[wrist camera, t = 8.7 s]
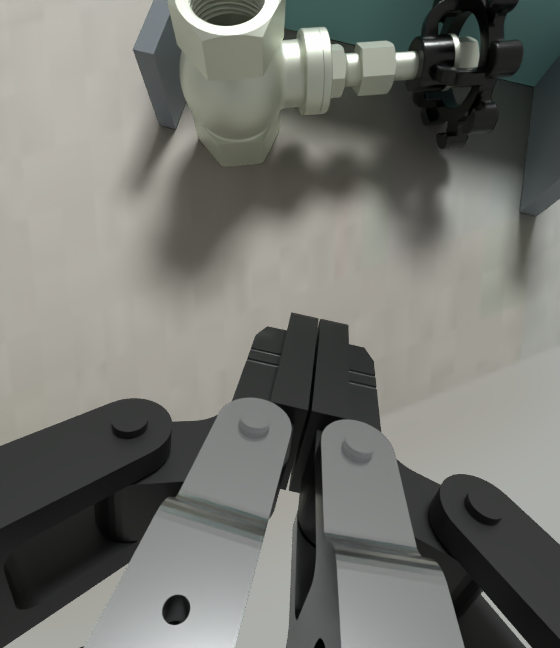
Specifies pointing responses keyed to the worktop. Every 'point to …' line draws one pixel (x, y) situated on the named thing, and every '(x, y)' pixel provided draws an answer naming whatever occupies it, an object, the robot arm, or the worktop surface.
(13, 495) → the robot arm
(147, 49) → the walled bay
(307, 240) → the worktop surface
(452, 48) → the valve
